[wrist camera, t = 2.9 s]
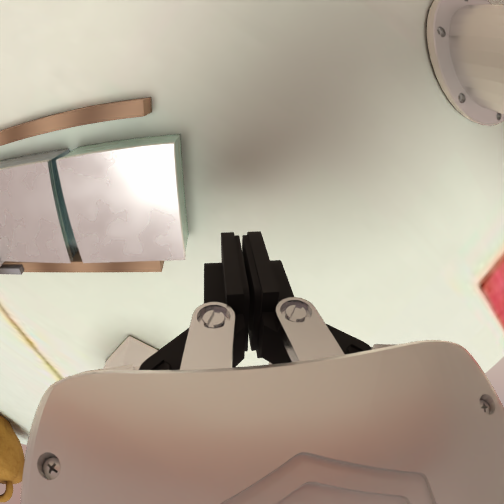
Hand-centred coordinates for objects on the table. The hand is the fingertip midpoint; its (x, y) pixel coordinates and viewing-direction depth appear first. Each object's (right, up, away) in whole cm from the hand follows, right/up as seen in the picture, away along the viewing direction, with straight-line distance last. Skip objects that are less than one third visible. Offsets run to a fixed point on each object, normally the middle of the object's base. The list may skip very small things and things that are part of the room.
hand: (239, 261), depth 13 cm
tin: (-8, +5, +7) cm, 11 cm away
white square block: (-16, +5, +6) cm, 18 cm away
